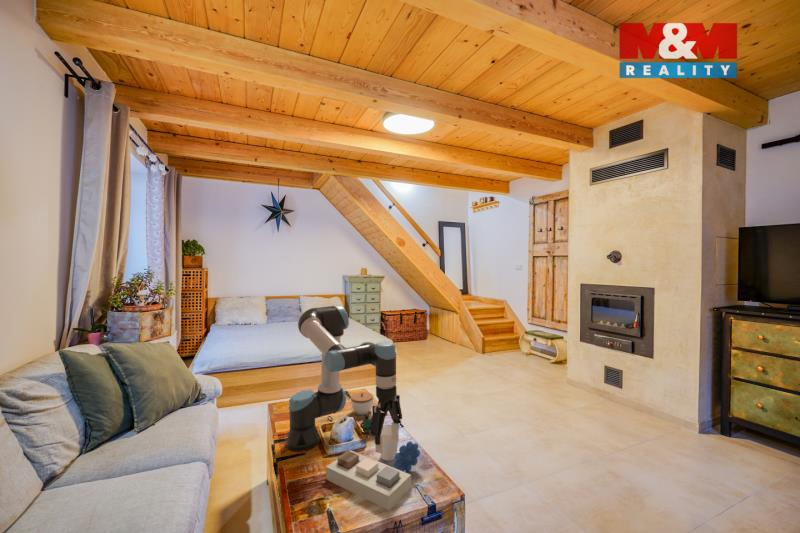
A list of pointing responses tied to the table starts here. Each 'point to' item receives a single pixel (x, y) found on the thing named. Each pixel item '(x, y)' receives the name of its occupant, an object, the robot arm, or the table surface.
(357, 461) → the walnut key
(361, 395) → the lidded bowl
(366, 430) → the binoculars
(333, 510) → the table surface
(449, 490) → the table surface
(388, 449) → the cup
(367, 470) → the ivory key
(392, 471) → the slate key
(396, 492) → the key panel
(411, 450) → the grapes
